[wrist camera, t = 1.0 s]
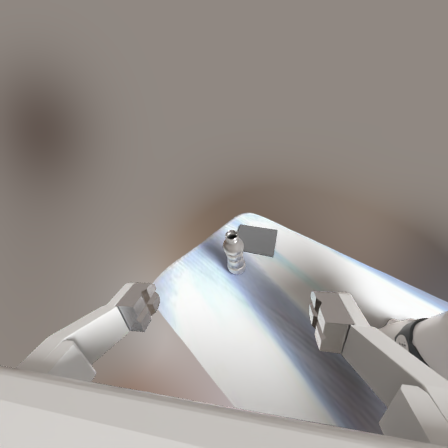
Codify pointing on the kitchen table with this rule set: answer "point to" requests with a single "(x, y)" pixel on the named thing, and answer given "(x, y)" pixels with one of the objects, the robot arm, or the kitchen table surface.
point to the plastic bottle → (234, 252)
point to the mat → (258, 240)
